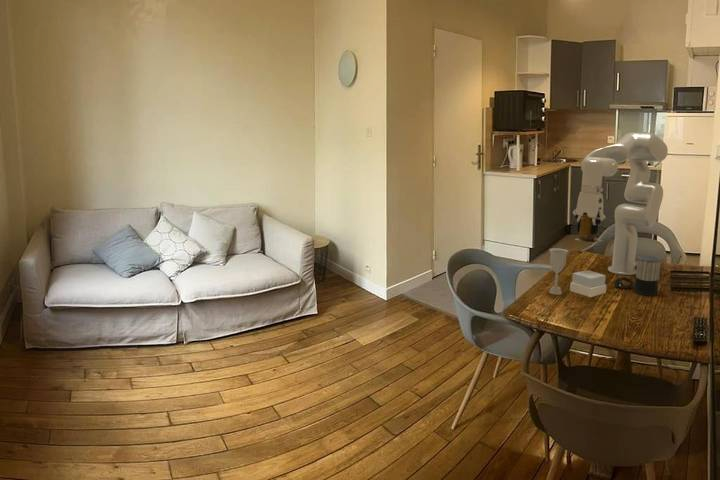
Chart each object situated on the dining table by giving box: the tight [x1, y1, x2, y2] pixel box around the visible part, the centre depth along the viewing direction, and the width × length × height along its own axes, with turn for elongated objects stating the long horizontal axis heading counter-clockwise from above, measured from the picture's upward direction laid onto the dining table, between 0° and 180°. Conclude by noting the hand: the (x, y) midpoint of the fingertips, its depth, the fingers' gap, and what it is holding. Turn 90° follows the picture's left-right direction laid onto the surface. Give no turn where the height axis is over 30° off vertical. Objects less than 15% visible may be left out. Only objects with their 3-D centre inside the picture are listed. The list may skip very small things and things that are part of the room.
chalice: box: [548, 247, 569, 296], centre depth 243 cm, size 7×7×18 cm
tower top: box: [571, 269, 607, 288], centre depth 245 cm, size 9×9×4 cm
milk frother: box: [613, 254, 663, 296], centre depth 247 cm, size 14×16×15 cm
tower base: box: [569, 281, 607, 298], centre depth 246 cm, size 10×10×4 cm
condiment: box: [575, 212, 603, 244], centre depth 245 cm, size 7×8×12 cm
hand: (587, 232), depth 247 cm, fingers closed on condiment, 6 cm apart
